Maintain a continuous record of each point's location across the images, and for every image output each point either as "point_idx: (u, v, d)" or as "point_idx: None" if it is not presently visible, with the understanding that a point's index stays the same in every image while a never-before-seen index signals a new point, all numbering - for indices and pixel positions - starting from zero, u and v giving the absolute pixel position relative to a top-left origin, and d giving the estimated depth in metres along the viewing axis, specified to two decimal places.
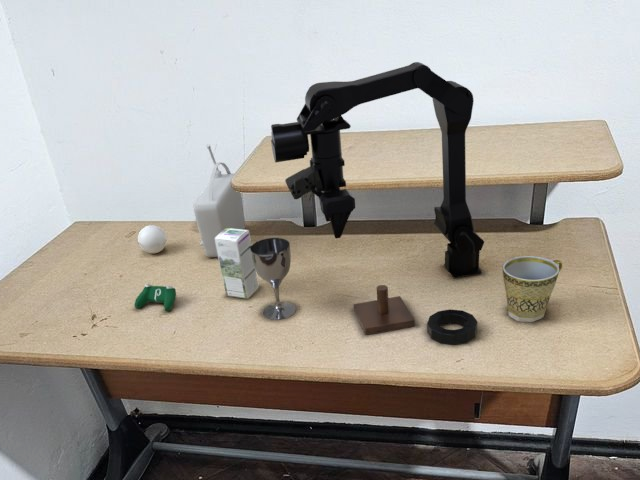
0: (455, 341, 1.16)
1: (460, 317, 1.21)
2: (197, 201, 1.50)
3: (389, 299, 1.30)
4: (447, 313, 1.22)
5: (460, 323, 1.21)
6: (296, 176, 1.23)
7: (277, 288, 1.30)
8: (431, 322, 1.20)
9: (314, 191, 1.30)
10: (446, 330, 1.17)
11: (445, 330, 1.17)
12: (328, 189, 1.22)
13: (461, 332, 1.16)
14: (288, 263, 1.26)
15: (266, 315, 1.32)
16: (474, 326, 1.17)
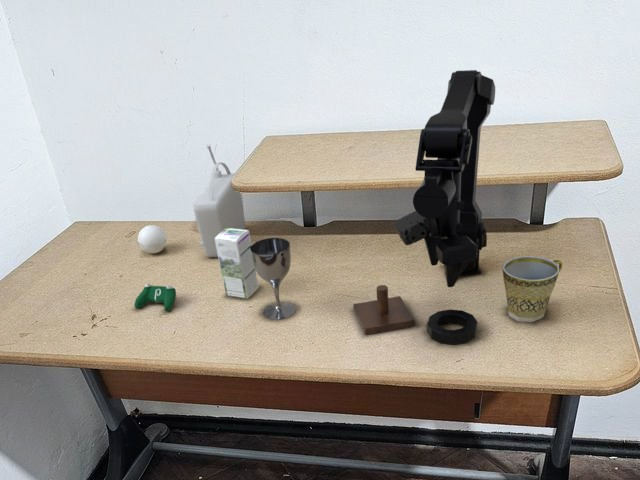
0: (455, 341, 1.16)
1: (460, 317, 1.21)
2: (197, 201, 1.50)
3: (389, 299, 1.30)
4: (447, 313, 1.22)
5: (460, 323, 1.21)
6: (407, 219, 1.12)
7: (277, 288, 1.30)
8: (431, 322, 1.20)
9: None
10: (446, 330, 1.17)
11: (445, 330, 1.17)
12: (444, 234, 1.11)
13: (461, 332, 1.16)
14: (288, 263, 1.26)
15: (266, 315, 1.32)
16: (474, 326, 1.17)
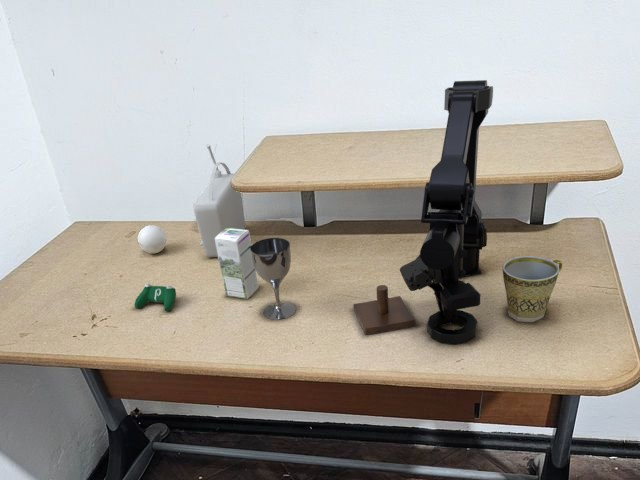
0: (455, 341, 1.16)
1: (460, 317, 1.21)
2: (197, 201, 1.50)
3: (389, 299, 1.30)
4: None
5: (460, 323, 1.21)
6: (412, 266, 1.16)
7: (277, 288, 1.30)
8: (431, 322, 1.20)
9: (431, 285, 1.20)
10: (446, 330, 1.17)
11: (445, 330, 1.17)
12: (447, 281, 1.15)
13: (461, 332, 1.16)
14: (288, 263, 1.26)
15: (266, 315, 1.32)
16: (474, 326, 1.17)
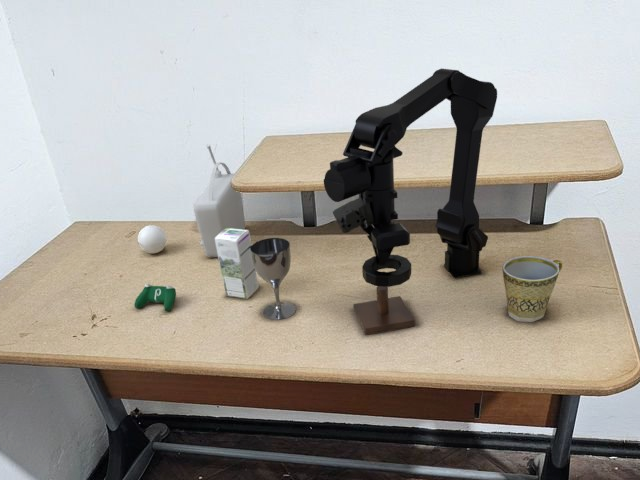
0: (389, 283, 1.17)
1: (395, 261, 1.21)
2: (197, 201, 1.50)
3: (389, 299, 1.30)
4: None
5: (395, 267, 1.22)
6: (345, 208, 1.17)
7: (277, 288, 1.30)
8: (366, 266, 1.20)
9: (365, 229, 1.21)
10: (380, 272, 1.17)
11: (379, 272, 1.17)
12: (379, 222, 1.16)
13: (395, 274, 1.16)
14: (288, 263, 1.26)
15: (266, 315, 1.32)
16: (408, 268, 1.18)
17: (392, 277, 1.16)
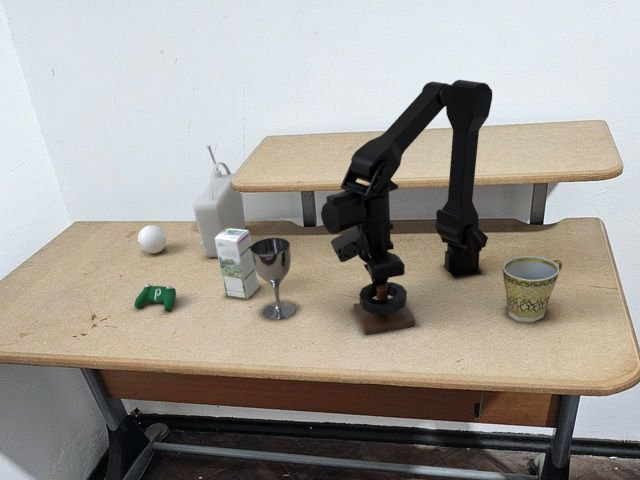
0: (385, 311, 1.21)
1: (391, 288, 1.25)
2: (197, 201, 1.50)
3: None
4: None
5: (391, 294, 1.26)
6: (342, 238, 1.21)
7: (277, 288, 1.30)
8: (363, 293, 1.24)
9: (362, 257, 1.25)
10: (376, 300, 1.21)
11: (375, 300, 1.21)
12: (375, 252, 1.20)
13: (390, 302, 1.20)
14: (288, 263, 1.26)
15: (266, 315, 1.32)
16: (403, 296, 1.22)
17: (388, 305, 1.20)
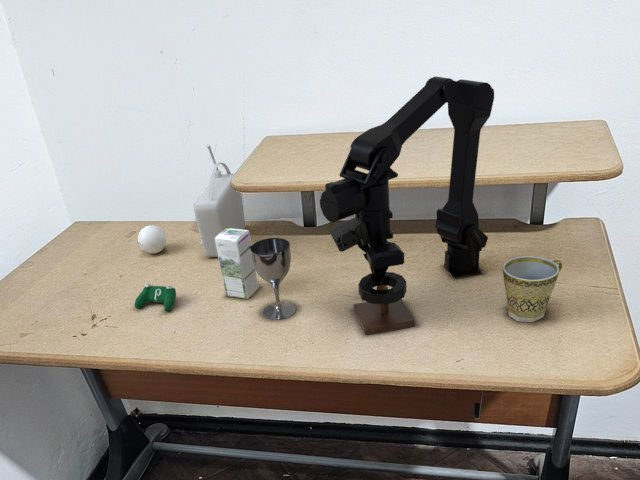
0: (384, 301, 1.19)
1: (390, 278, 1.24)
2: (197, 201, 1.50)
3: None
4: None
5: (391, 284, 1.25)
6: (341, 227, 1.19)
7: (277, 288, 1.30)
8: (362, 283, 1.23)
9: (361, 247, 1.24)
10: (376, 290, 1.20)
11: (375, 290, 1.20)
12: (375, 241, 1.18)
13: (390, 292, 1.19)
14: (288, 263, 1.26)
15: (266, 315, 1.32)
16: (403, 286, 1.20)
17: (387, 295, 1.19)
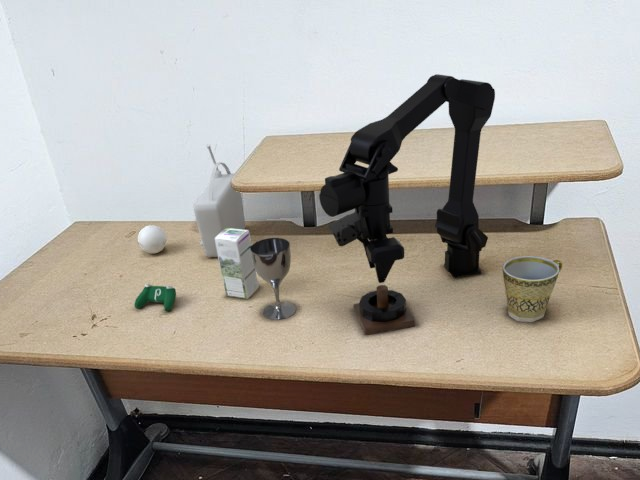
0: (385, 318, 1.22)
1: (390, 296, 1.27)
2: (197, 201, 1.50)
3: None
4: None
5: (390, 302, 1.28)
6: (341, 222, 1.19)
7: (277, 288, 1.30)
8: (363, 302, 1.26)
9: (359, 238, 1.25)
10: (376, 308, 1.23)
11: (375, 308, 1.23)
12: (375, 236, 1.18)
13: (390, 310, 1.22)
14: (288, 263, 1.26)
15: (266, 315, 1.32)
16: (402, 304, 1.23)
17: (388, 313, 1.22)
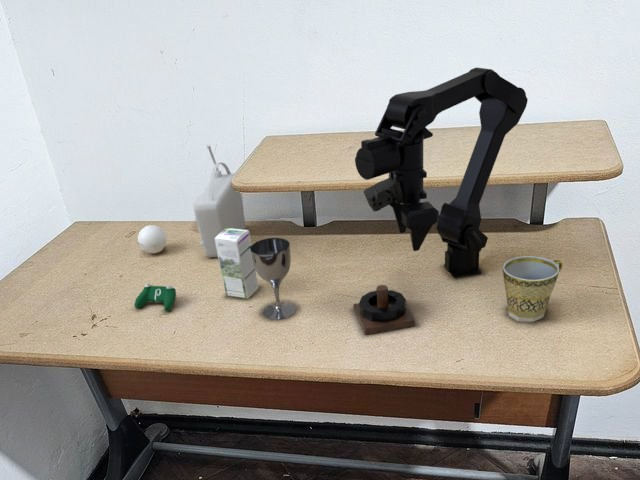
0: (385, 318, 1.22)
1: (390, 296, 1.27)
2: (197, 201, 1.50)
3: None
4: None
5: (390, 302, 1.28)
6: (375, 188, 1.21)
7: (277, 288, 1.30)
8: (363, 302, 1.26)
9: None
10: (376, 308, 1.23)
11: (375, 308, 1.23)
12: (409, 201, 1.20)
13: (390, 310, 1.22)
14: (288, 263, 1.26)
15: (266, 315, 1.32)
16: (402, 304, 1.23)
17: (388, 313, 1.22)
